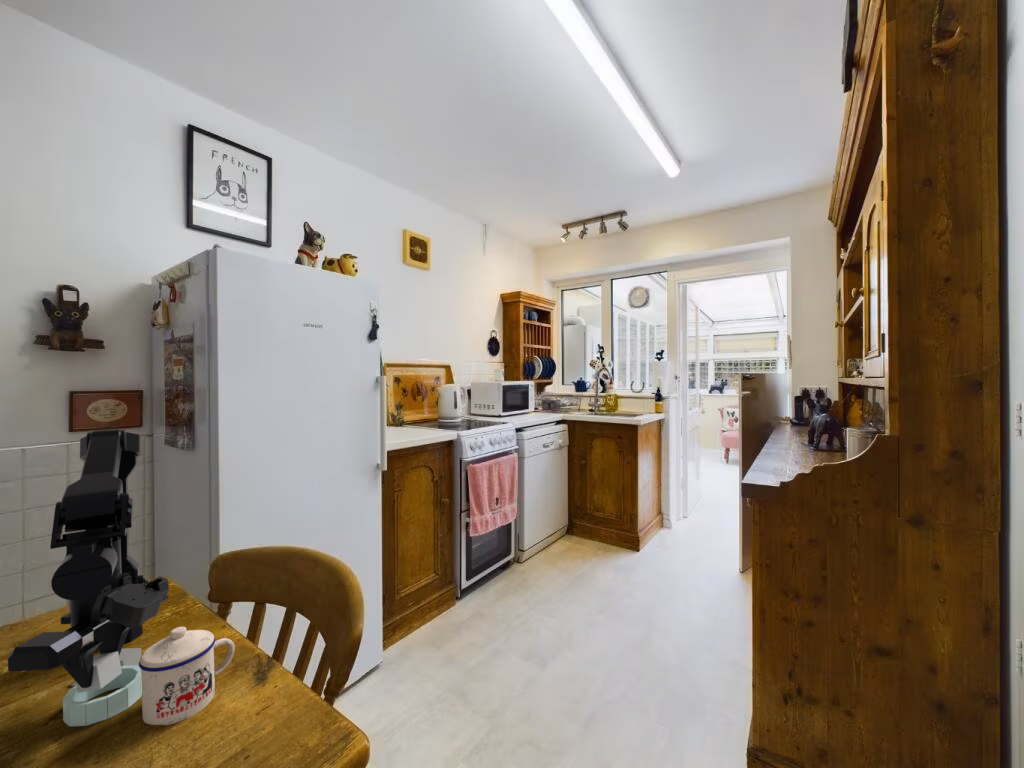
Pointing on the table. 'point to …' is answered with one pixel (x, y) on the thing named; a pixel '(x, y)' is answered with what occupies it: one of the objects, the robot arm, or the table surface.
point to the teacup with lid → (180, 675)
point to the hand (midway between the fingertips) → (98, 678)
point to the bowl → (103, 699)
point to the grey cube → (130, 656)
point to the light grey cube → (103, 671)
